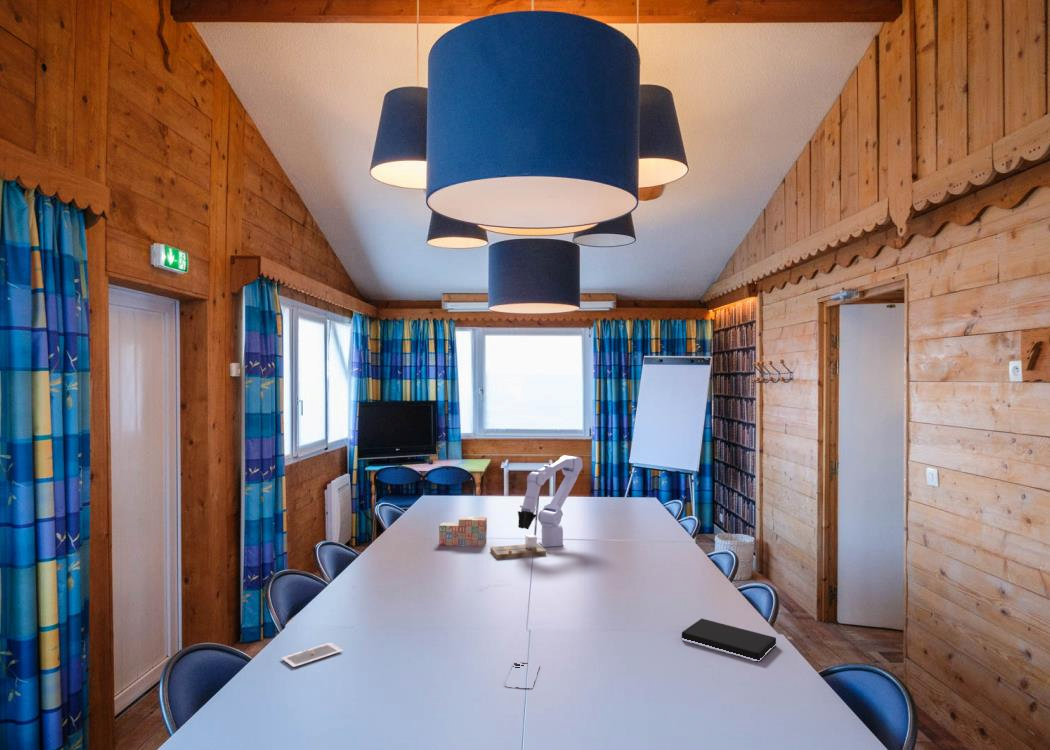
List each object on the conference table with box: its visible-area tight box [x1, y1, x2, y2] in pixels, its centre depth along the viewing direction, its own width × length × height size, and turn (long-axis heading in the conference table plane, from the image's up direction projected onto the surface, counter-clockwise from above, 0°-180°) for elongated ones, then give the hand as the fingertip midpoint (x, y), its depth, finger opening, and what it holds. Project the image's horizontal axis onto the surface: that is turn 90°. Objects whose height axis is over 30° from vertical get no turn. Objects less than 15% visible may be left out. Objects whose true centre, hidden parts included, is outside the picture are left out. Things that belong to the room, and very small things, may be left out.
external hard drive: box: [681, 618, 777, 660], centre depth 195 cm, size 14×23×3 cm, turn 51°
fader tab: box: [524, 534, 538, 549], centre depth 291 cm, size 4×4×5 cm
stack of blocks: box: [438, 516, 488, 547], centre depth 305 cm, size 21×6×12 cm, turn 85°
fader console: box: [489, 543, 547, 560], centre depth 290 cm, size 22×12×3 cm, turn 106°
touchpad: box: [281, 642, 345, 668], centre depth 186 cm, size 8×15×2 cm, turn 134°
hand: (523, 528), depth 291 cm, fingers open, 7 cm apart
